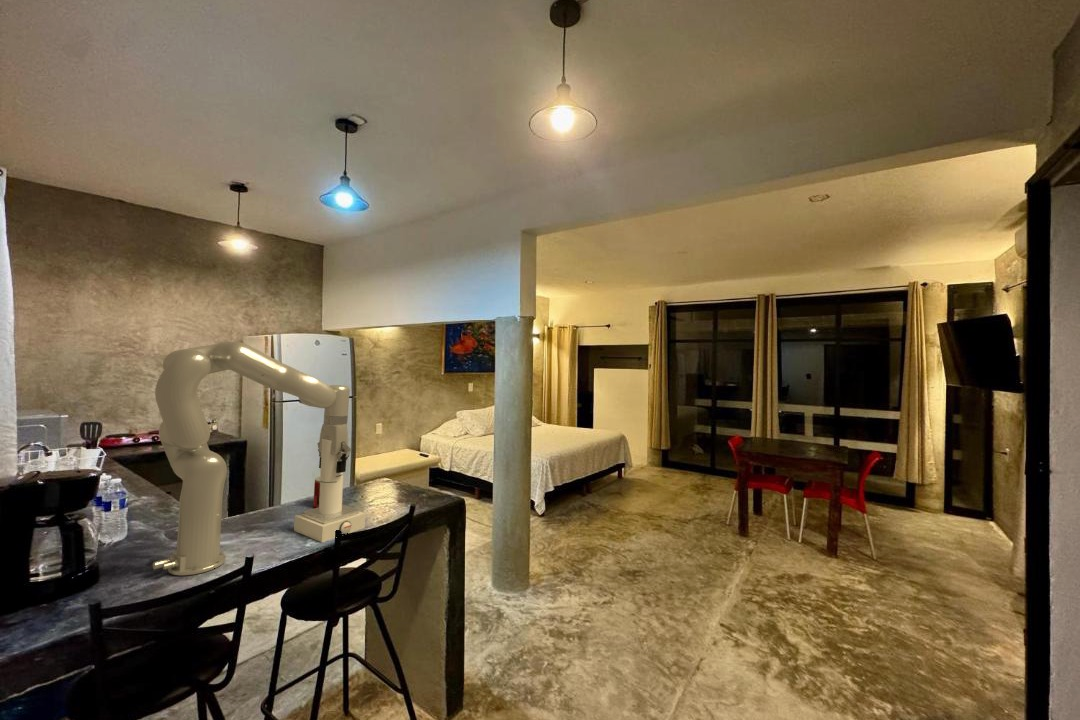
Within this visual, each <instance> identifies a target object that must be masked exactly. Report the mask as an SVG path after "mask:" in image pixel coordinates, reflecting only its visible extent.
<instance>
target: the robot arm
mask: <svg viewBox="0 0 1080 720" xmlns="http://www.w3.org/2000/svg"><path fill="white" fill-rule="evenodd" d="M162 368H163V371H162V372H161V373H160V375H159V377H158V380H157V382H156V384H155V389H154V390H155V391H154V394H155V396H154V397H155V401H156V405H157V409H158V410H159V414H160V416H161V419H162V422H161V423H160V425H159V428H158V437H159V439H160V440H159V441H160V442H161V445H162V447H163V451H164V452H165V456H166V458H167V459H168V462H169V465H170V467H171V468H172V472H173V473H174V475H176V476H177V477H178V478H180V480H182V486H181V491H180V494H179V495H180V496H179V502H178V503H179V505H178V523H177V525H178V526H177V540H176V551H172V552H171V555H170V556H168V557H167V558H165V559H159V560H157V561H154V562H152V569H153V570H154V571H155V570H158V569H161V568H162V569H163V570H167V572H168V573H169V574H170V575H172V576H191V575H197V574H202V573H205V572H209V571H212V570H215V569H217V568H219V567H220V566H222V565H223V564H224V563H225V562H226V561H227V560H226V559H227V555H226V554H225V553H224V552H220V549H221V547H220V546H221V535H222V534H221V532H222V531H221V530H222V513H223V498H224V497H223V496H224V487H225V483H226V478H227V474H228V473H227V472H228V467H227V463H226V461H225V459H224V458H223V457H222V456H221V455H220V454H219V453H217V452H214V451H212V450H210V448H209V447H210V446H209V445H208V442H209V440H210V437H211V427H210V425H209V423H208V420H207V419H206V416H205V414H204V411H203V409H202V406H201V404H200V400H199V396H198V395H199V394H198V387H199V385H200V383H201V381H202V380H203V379H205V378H206V376H207V375H211V374H215V373H219V372H224V371H231V372H234V373H236V374H238V375H241V376H242V377H245V378H247V379H249V380H251V381H253V382H256V383H258V384H259V385H262V386H264V387H266V388H269V389H270V390H274V391H278V392H281V393H285V394H289V395H292V396H295V397H297V398H298V400H299V402H301V403H302V404H303V405H304V406H308V407H314V408H319V409H324V412H323V424H322V426H321V430H320V434H319V439H318V442H317V447H318V448H317V451H318V457H319V462H318V463H319V464H318V468H319V469H321V450H322V439H326V440H330V441H332V442H331V452H330V454H331V455H336V456H337V458H338V461H337V467H336V473H342V472H343V473H346V470H347V469H346V468H347V461H348V459H349V457H350V453H351V452H352V448H351V447H350V446H349V445H348V444H349V443H348V441H349V438H348V436H349V435H348V433H349V431H348V419H349V418H348V417H349V416H348V415H349V406H350V405H349V403H350V387H349V386H348V385H341V384H330V385H328V384H327V383H325V382H323V381H321V380H319V379H317V378H315V377H314V376H311V375H309V374H307V373H305V372H303V371H300V370H299V369H296V368H294V367H292V366H290V365H287V364H285V363H283V362H282V361H279V360H277V359H275V358H273V357H271V356H270V355H268V354H267V353H264V352H262V351H260V350H258V349H256V348H255V347H253V346H251V345H249V344H246V343H245V342H240V341H225V342H219V343H214V344H210V345H209V344H207V345H203V346H196V347H190V348H189V347H188V348H184V349H178V350H177V349H176V350H174V351H171V352H170V353H168V354H167V355H166V356H165V358H164V359H163V362H162ZM341 447H342V452H339V451H340V449H341ZM340 455H342V456H340ZM214 568H215V569H214Z"/></svg>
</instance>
